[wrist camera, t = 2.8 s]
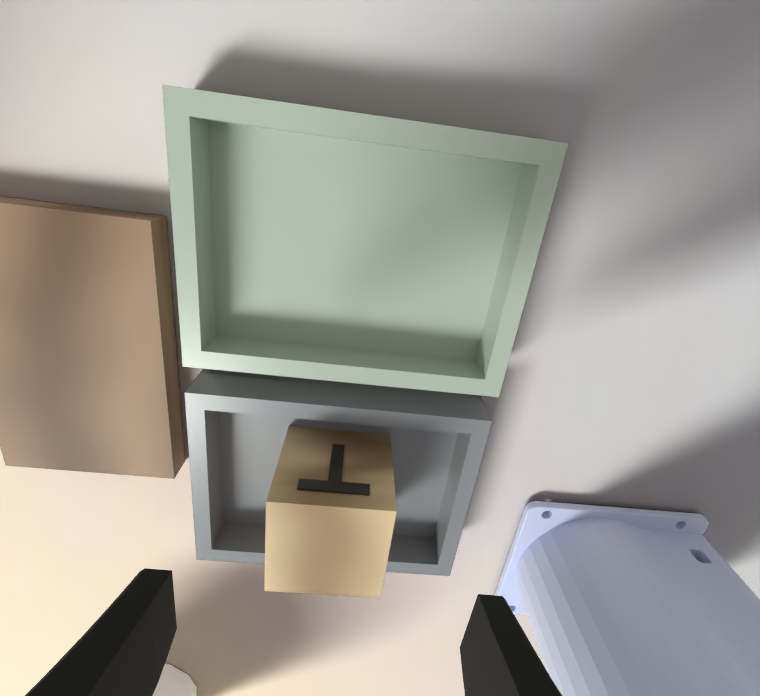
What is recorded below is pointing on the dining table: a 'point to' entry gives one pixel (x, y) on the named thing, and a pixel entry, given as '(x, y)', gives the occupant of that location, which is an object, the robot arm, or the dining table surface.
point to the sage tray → (351, 241)
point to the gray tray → (338, 412)
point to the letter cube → (330, 513)
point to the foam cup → (174, 683)
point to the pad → (87, 341)
